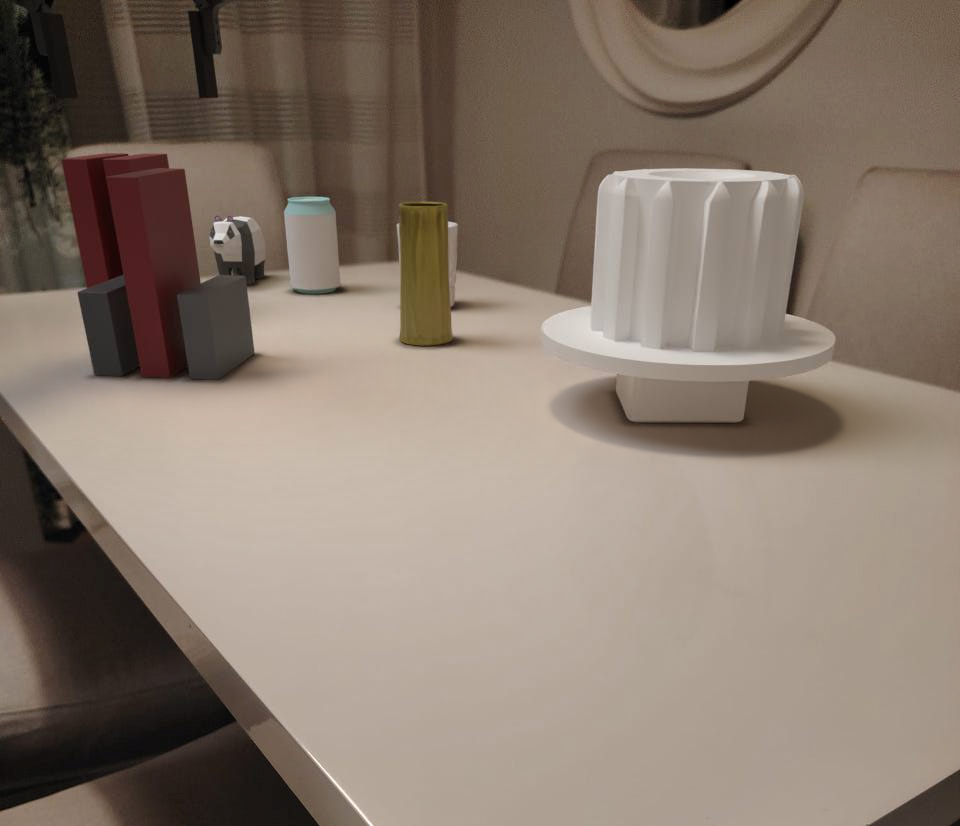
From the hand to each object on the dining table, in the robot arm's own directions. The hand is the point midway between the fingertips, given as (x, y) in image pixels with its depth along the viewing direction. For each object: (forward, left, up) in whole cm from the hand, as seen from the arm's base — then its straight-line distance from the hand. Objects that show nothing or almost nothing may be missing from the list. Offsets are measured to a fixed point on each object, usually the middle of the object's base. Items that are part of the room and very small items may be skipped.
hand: (137, 98), depth 86 cm
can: (+3, +43, -24) cm, 50 cm away
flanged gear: (+51, -9, -24) cm, 57 cm away
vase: (+24, +14, -24) cm, 37 cm away
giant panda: (-10, +48, -24) cm, 55 cm away
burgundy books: (-15, +24, -24) cm, 37 cm away
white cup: (+21, +34, -24) cm, 47 cm away
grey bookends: (0, 0, -24) cm, 24 cm away
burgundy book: (0, 0, -24) cm, 24 cm away
